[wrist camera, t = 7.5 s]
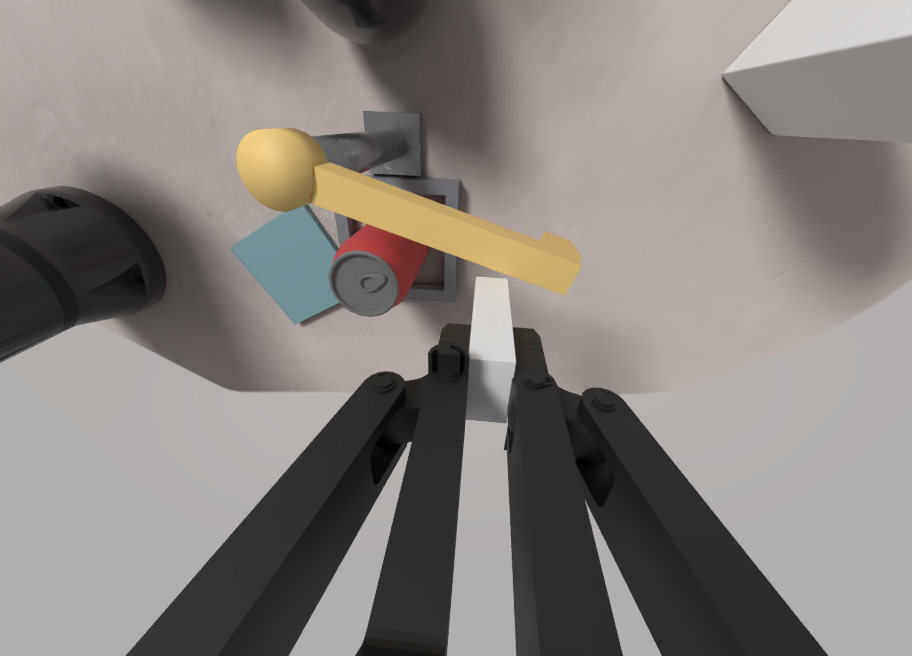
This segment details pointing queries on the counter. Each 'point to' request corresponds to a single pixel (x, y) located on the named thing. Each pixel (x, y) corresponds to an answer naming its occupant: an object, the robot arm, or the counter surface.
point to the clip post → (379, 145)
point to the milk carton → (831, 71)
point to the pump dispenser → (368, 18)
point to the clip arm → (395, 209)
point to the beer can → (375, 270)
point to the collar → (450, 266)
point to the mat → (292, 262)
